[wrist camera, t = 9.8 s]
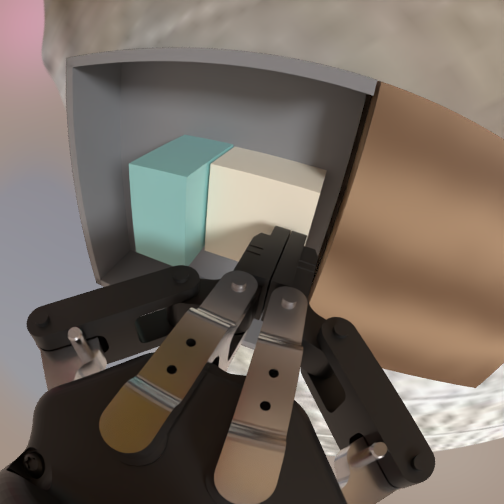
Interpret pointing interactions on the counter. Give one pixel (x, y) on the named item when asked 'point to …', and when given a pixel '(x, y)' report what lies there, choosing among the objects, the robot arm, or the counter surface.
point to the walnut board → (420, 242)
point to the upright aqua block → (173, 198)
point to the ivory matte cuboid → (257, 199)
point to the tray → (199, 134)
